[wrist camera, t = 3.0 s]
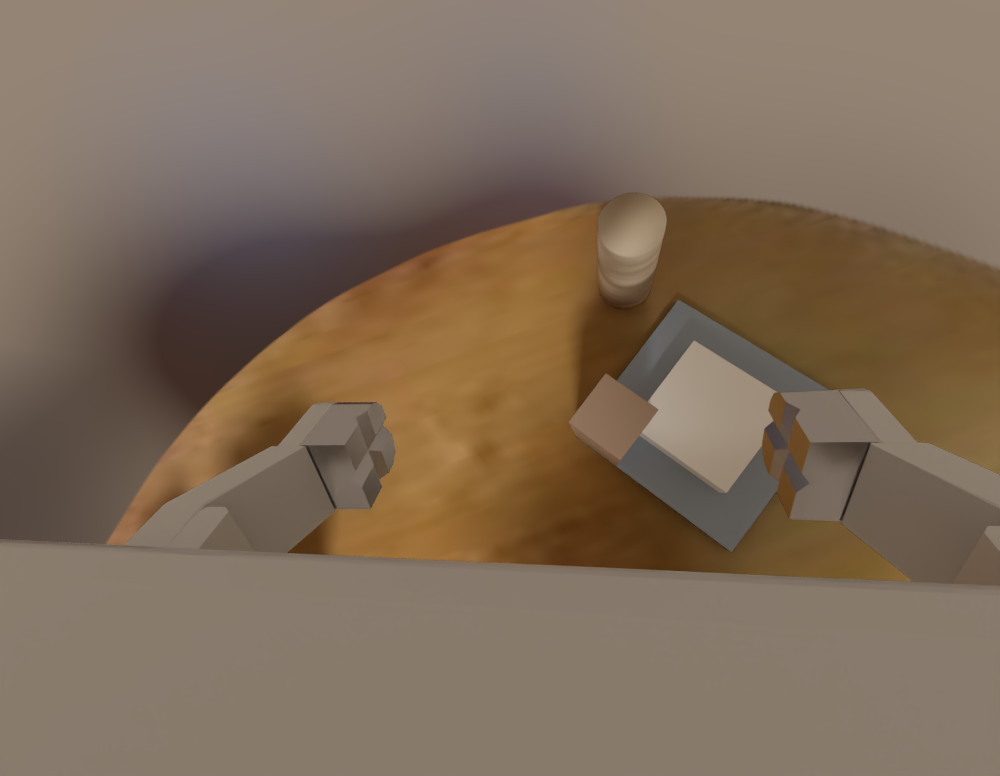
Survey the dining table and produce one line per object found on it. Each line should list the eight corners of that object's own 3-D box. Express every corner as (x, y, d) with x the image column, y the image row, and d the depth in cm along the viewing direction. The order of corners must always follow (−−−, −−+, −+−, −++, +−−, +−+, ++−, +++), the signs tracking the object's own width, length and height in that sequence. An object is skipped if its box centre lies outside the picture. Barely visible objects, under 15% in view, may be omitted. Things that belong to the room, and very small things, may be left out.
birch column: (661, 277, 40) (680, 212, 31) (630, 318, 40) (639, 265, 30) (618, 252, 41) (623, 181, 32) (588, 291, 41) (584, 232, 32)
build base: (839, 401, 35) (913, 374, 27) (728, 550, 35) (769, 570, 27) (677, 303, 39) (697, 253, 31) (575, 436, 39) (568, 422, 31)
